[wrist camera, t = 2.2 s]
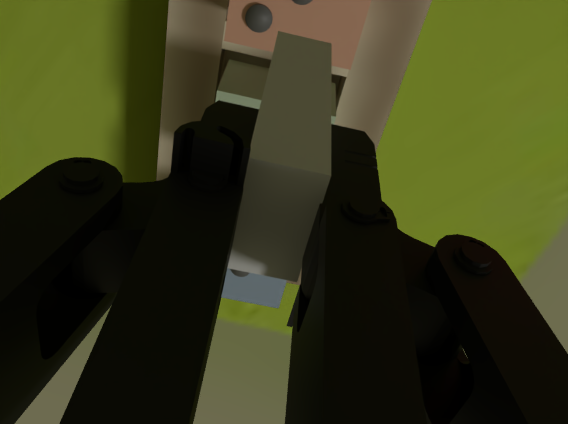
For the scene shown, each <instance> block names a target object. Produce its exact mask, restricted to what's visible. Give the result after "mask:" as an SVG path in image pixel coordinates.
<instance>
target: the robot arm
mask: <svg viewBox="0 0 568 424" xmlns="http://www.w3.org/2000/svg"><path fill="white" fill-rule="evenodd" d="M331 79H332V43H327V42H323V41H319V40H315V39H310V38H306V37H302V36H298V35H293V34H289V33H285V32H281V31H278V34H277V38H276V42H275V47H274V51H273V55H272V59H271V63H270V67H269V71H268V75H267V79H266V83H265V88H264V92H263V96H262V100H261V104H260V108H259V109H256V108H251V107H247V106H242V105H238V104H233V103H229V102H224V101H220V100H218V101H217V102H215V103H213V104H212V105H210V106H209V107H207V108H206V109H205V111H204V114H203V116H202V118H201V121H192V122H189V123H186V124H183V125H181V126H180V127H179V128H178V129H177V130H176V131H175V132H174V138H173V149H172V160H171V172H170V174H169V176H168V178H165V179H163V180H159V181H154V182H143V183H123V181H122V175H121V173H120V172H119V171H118V170H117V168H116V167H114V166H112V165H110V164H109V163H107V162H105V161H102V160H97V159H93V158H82V157H80V158H78V157H74V158H69V159H64V160H59V161H57V162H55V163H53V164H51V165H49V166H47V167H45V168H44V169H42V170H41V171H40V172H38V173H37V174H36V175H34V176H33V177H31V178H30V179H29V180H27V181H26V182H24V183H23V184H22V185H20V186H19V187H18V188H16V189H15V190H13V191H12V192H11V193H9V194H8V195H6V196H5V197H4V198H2V199H1V200H0V424H14V423H15V422H16V421H17V420H18V418H19V417H20V416H21V415H22V414H23V412H24V411H25V410H26V409H27V408H28V406H29V405H30V404H31V403H32V402H33V400H34V399H35V398H36V396H37V395H38V394H39V393H40V392H41V391H42V389H43V388H44V387H45V386H46V384H47V383H48V382H49V381H50V380H51V378H52V377H53V376H54V375H55V373H56V372H57V371H58V370H59V368H60V367H61V366H62V365H63V364H64V362H65V361H66V360H67V359H68V358H69V356H70V355H71V354H72V353H73V351H74V350H75V349H76V348H77V346H78V345H79V344H80V343H81V341H83V339H84V338H85V337H86V336H87V334H88V333H89V332H90V331H91V329H92V328H93V327H94V326H95V325H96V323H97V322H98V321H99V320H100V318H101V317H102V316H103V315H104V314H105V312H106V311H107V310H108V309H109V308H110V306H111V305H112V306H111V308H110V311H109V313H108V315H107V317H106V319H105V322H104V324H103V326H102V329H101V331H100V333H99V335H98V338H97V340H96V342H95V345H94V347H93V349H92V352H91V353H90V356H89V358H88V360H87V363H86V365H85V367H84V369H83V372H82V374H81V376H80V378H79V381H78V383H77V385H76V387H75V390H74V392H73V394H72V397H71V399H70V401H69V403H68V406H67V408H66V410H65V412H64V415H63V417H62V419H61V421H60V424H193V421H194V417H195V412H196V408H197V403H198V399H199V394H200V390H201V385H202V381H203V376H204V372H205V368H206V363H207V359H208V354H209V350H210V345H211V341H212V336H213V332H214V327H215V323H216V319H217V314H218V310H219V305H220V301H221V296H222V292H223V287H224V282H225V277H226V272H227V268H229V269H234V270H239V271H244V272H249V273H254V274H259V275H264V276H269V277H274V278H278V279H283V280H288V281H293V282H297V281H298V278H299V275H300V271H301V268H302V272H301V284H300V287H299V290H298V293H297V296H296V299H295V302H294V305H293V308H292V311H291V314H290V317H289V320H288V323H287V326H290V327H292V326H293V329H292V343H291V354H290V355H291V356H290V368H289V379H288V392H287V404H286V417H285V424H568V354H567V352H566V351H565V349H564V348H563V346H562V345H561V343H560V342H559V340H558V339H557V337H556V336H555V334H554V333H553V331H552V330H551V328H550V327H549V325H548V324H547V322H546V321H545V320H544V318H543V316H542V315H541V314H540V312H539V310H538V309H537V307H536V306H535V305H534V303H533V302H532V300H531V299H530V297H529V296H528V294H527V293H526V291H525V290H524V288H523V287H522V285H521V284H520V282H519V281H518V279H517V278H516V276H515V275H514V273H513V272H512V270H511V269H510V267H509V266H508V264H507V263H506V261H505V260H504V259H503V258H502V257H501V256H500V255H499V253H498V252H497V251H496V250H494V249H493V248H491V247H490V246H488V245H487V244H485V243H484V242H482V241H480V240H477V239H475V238H472V237H469V236H464V235H458V234H456V235H446V236H445V237H443V238H442V239H440V240H439V241H438V243H437V244H436V246H435V247H433V246H430V245H428V244H426V243H423V242H421V241H419V240H417V239H414V238H412V237H411V236H409V235H407V234H405V233H403V232H402V231H400V230H399V229H398V228H397V222H396V218H395V216H394V213H393V211H392V210H391V209H390V208H389V207H388V206H387V205H386V204H385V203H384V202H383V201H382V199H381V191H380V183H379V175H378V170H377V159H376V152H375V144H374V143H373V142H372V140H371V139H370V138H369V136H368V135H367V134H366V132H365V131H361V130H356V129H352V128H348V127H343V126H339V125H334V124H331ZM462 348H463V349H464V351H465V353H466V355H467V357H468V358H467V357H466V355H465V353H464V351H463V349H462Z"/></svg>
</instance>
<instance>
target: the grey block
mask: <svg viewBox="0 0 568 424" xmlns="http://www.w3.org/2000/svg"><path fill="white" fill-rule="evenodd" d="M286 281H287V280H283V279H278V278H274V277H269V276H264V275H259V274H254V273H249V272H244V271H239V270H234V269H229V268H227V272H226V277H225V282H224V287H223V292H222V296H221V297H223V298H228V299H233V300H238V301H243V302H248V303H254V304H259V305H264V306H269V307H274V308H279V305H280V301H281V298H282V295H283V291H284V288H285V285H286Z"/></svg>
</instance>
